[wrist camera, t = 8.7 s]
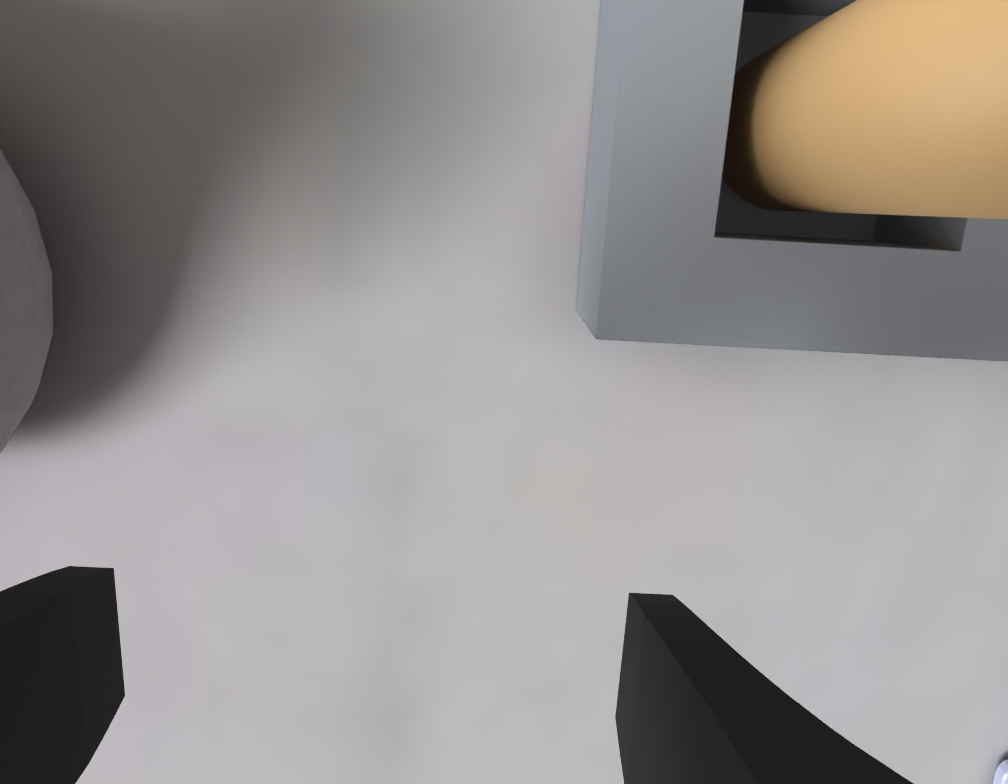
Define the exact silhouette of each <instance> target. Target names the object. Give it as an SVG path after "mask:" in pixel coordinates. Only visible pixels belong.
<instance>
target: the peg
mask: <svg viewBox="0 0 1008 784" xmlns="http://www.w3.org/2000/svg"><path fill="white" fill-rule="evenodd" d="M722 178H723V179H724V181H725V182H726V184H727V185H728V186H729V187H730V188H731V189H732V190H733V192H735V193H736V194H737V195H738V196H739V197H741V198H742V199H744V200H745V201H747V202H749V203H751V204H753V205H755V206H758V207H761V208H765V209H769V210H777V211H803V212H829V213H856V214H882V215H908V216H935V217H961V218H988V219H1008V0H856V1H855V2H853V3H851V4H849V5H848V6H846V7H844V8H842V9H840V10H839V11H837V12H835V13H833V14H832V15H830V16H828V17H826V18H824V19H823V20H821V21H819V22H817V23H816V24H814V25H812V26H810V27H808V28H807V29H805V30H803V31H801V32H800V33H798V34H796V35H794V36H792V37H791V38H789V39H787V40H785V41H784V42H782V43H780V44H778V45H776V46H775V47H773V48H771V49H769V50H768V51H766V52H764V53H762V54H760V55H759V56H757V57H755V58H754V59H752V60H751V61H749V62H748V63H747V64H745V65H744V66H743V67H742V68H741V69H740V70H739V71H738V72H737V73H736V74H735V75H734V83H733V91H732V99H731V107H730V115H729V123H728V131H727V139H726V147H725V155H724V163H723V171H722Z"/></svg>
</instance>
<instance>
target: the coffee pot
mask: <svg viewBox="0 0 1008 784" xmlns="http://www.w3.org/2000/svg"><path fill="white" fill-rule="evenodd" d="M52 336H53V295H52V271H51V267H50V264H49V260H48V257H47V253H46V249H45V246H44V242H43V239H42V235H41V232H40V228H39V224H38V221H37V217H36V214H35V210H34V208H33V206H32V205H31V203H30V201H29V199H28V197H27V196H26V194H25V192H24V190H23V188H22V186H21V185H20V183H19V181H18V179H17V177H16V176H15V174H14V172H13V170H12V168H11V167H10V165H9V163H8V161H7V159H6V158H5V156H4V154H3V152H2V150H1V149H0V453H1V451H2V450H3V448H4V447H5V445H6V443H7V442H8V440H9V439H10V437H11V436H12V434H13V433H14V431H15V429H16V428H17V426H18V425H19V423H20V422H21V420H22V418H23V417H24V415H25V414H26V412H27V411H28V409H29V407H30V406H31V404H32V402H33V400H34V397H35V395H36V392H37V390H38V388H39V384H40V380H41V377H42V373H43V369H44V366H45V362H46V358H47V354H48V351H49V347H50V343H51V340H52Z"/></svg>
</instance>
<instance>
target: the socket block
mask: <svg viewBox="0 0 1008 784" xmlns="http://www.w3.org/2000/svg"><path fill="white" fill-rule="evenodd" d="M855 1H856V0H601V7H600V20H599V32H598V44H597V57H596V69H595V82H594V94H593V107H592V119H591V131H590V144H589V156H588V169H587V181H586V194H585V206H584V218H583V231H582V243H581V256H580V268H579V280H578V293H577V305H576V310H577V311H578V313H579V315H580V316H581V318H582V319H583V321H584V322H585V324H586V325H587V327H588V328H589V330H590V331H591V333H592V334H593V336H594V337H595V339H601V340H620V341H638V342H657V343H675V344H694V345H713V346H731V347H750V348H769V349H787V350H806V351H824V352H843V353H862V354H880V355H899V356H918V357H936V358H955V359H973V360H992V361H1008V219H988V218H961V217H935V216H908V215H882V214H856V213H829V212H803V211H777V210H769V209H765V208H761V207H758V206H755V205H753V204H751V203H749V202H747V201H745V200H744V199H742V198H741V197H739V196H738V195H737V194H736V193H735V192H733V190H732V189H731V188H730V187H729V186H728V185H727V184H726V182H725V181H724V179H723V178H722V171H723V163H724V155H725V147H726V139H727V131H728V123H729V115H730V107H731V99H732V91H733V83H734V75H735V74H736V73H737V72H738V71H739V70H740V69H741V68H742V67H743V66H744V65H745V64H747V63H748V62H749V61H751V60H752V59H754V58H755V57H757V56H759V55H760V54H762V53H764V52H766V51H768V50H769V49H771V48H773V47H775V46H776V45H778V44H780V43H782V42H784V41H785V40H787V39H789V38H791V37H792V36H794V35H796V34H798V33H800V32H801V31H803V30H805V29H807V28H808V27H810V26H812V25H814V24H816V23H817V22H819V21H821V20H823V19H824V18H826V17H828V16H830V15H832V14H833V13H835V12H837V11H839V10H840V9H842V8H844V7H846V6H848V5H849V4H851V3H853V2H855Z"/></svg>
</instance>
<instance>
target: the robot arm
mask: <svg viewBox="0 0 1008 784" xmlns="http://www.w3.org/2000/svg"><path fill="white" fill-rule="evenodd" d="M124 696H125V691H124V680H123V669H122V658H121V646H120V635H119V624H118V613H117V601H116V590H115V579H114V568H96V567H75V566H69V567H65V568H62V569H59V570H55V571H52V572H49V573H46V574H44V575H41V576H38V577H35V578H33V579H30V580H28V581H25V582H23V583H20V584H18V585H15V586H13V587H10V588H8V589H5V590H3V591H0V784H75V783H76V781H77V780H78V779H79V777H80V776H81V774H82V773H83V771H84V770H85V768H86V767H87V765H88V764H89V762H90V760H91V759H92V757H93V755H94V753H95V751H96V750H97V748H98V746H99V744H100V742H101V741H102V739H103V737H104V735H105V733H106V731H107V730H108V728H109V726H110V724H111V722H112V720H113V718H114V716H115V714H116V712H117V710H118V708H119V706H120V704H121V702H122V700H123V698H124ZM615 718H616V725H617V733H618V741H619V749H620V757H621V763H622V770H623V777H624V784H913V783H912V782H910V781H908V780H907V779H905V778H904V777H902V776H901V775H899V774H898V773H896V772H895V771H893V770H892V769H890V768H889V767H887V766H886V765H884V764H883V763H881V762H879V761H878V760H876V759H875V758H873V757H872V756H870V755H869V754H867V753H866V752H864V751H863V750H861V749H860V748H858V747H857V746H855V745H854V744H852V743H851V742H850V741H848V740H847V739H845V738H844V737H843V736H841V735H840V734H838V733H837V732H835V731H834V730H833V729H831V728H830V727H829V726H827V725H826V724H825V723H823V722H822V721H821V720H819V719H818V718H817V717H816V716H814V715H813V714H812V713H810V712H809V711H808V710H806V709H805V708H804V707H803V706H801V705H800V704H799V703H797V702H796V701H795V700H793V699H792V698H791V697H790V696H788V695H787V694H786V693H785V692H783V691H782V690H781V689H780V688H779V687H777V686H776V685H775V684H774V683H772V682H771V681H770V680H769V679H768V678H766V677H765V676H764V675H763V674H762V673H760V672H759V671H758V670H757V669H756V668H755V667H753V666H752V665H751V664H750V663H749V662H748V661H747V660H745V659H744V658H743V657H742V656H741V655H740V654H739V653H737V652H736V651H735V650H734V649H733V648H732V647H731V646H730V645H728V644H727V643H726V642H725V641H724V640H723V639H722V638H721V637H720V636H718V635H717V634H716V633H715V632H714V631H713V630H712V629H711V628H710V627H708V626H707V625H706V624H705V623H704V622H703V621H702V620H701V619H700V618H699V617H697V616H696V615H695V614H694V613H693V612H692V611H691V610H690V609H689V608H687V607H686V606H685V605H684V604H683V603H682V602H681V601H679V600H678V599H677V598H676V597H674V596H673V595H662V594H641V593H629V599H628V608H627V617H626V626H625V635H624V644H623V654H622V663H621V672H620V681H619V690H618V699H617V708H616V717H615ZM992 784H1008V759H1007V760H1005V761H1003V762H1002V763H1001V764H1000V765H999V766H998V768H997V770H996V772H995V776H994V780H993V783H992Z"/></svg>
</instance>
